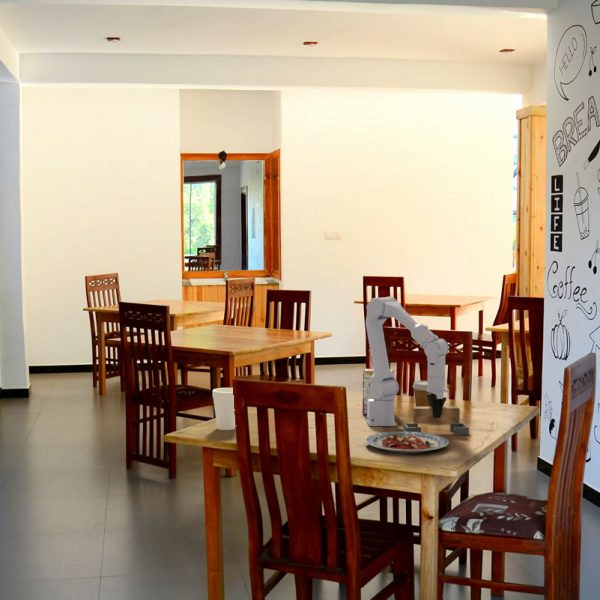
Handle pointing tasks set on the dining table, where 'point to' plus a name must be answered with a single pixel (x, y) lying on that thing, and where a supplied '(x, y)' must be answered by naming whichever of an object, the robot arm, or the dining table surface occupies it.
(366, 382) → the candy bar box
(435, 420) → the slat
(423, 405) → the disposable coffee cup
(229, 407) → the foam cup
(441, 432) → the dining table surface
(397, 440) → the ceramic plate
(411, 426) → the end cap
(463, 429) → the end cap
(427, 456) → the dining table surface
